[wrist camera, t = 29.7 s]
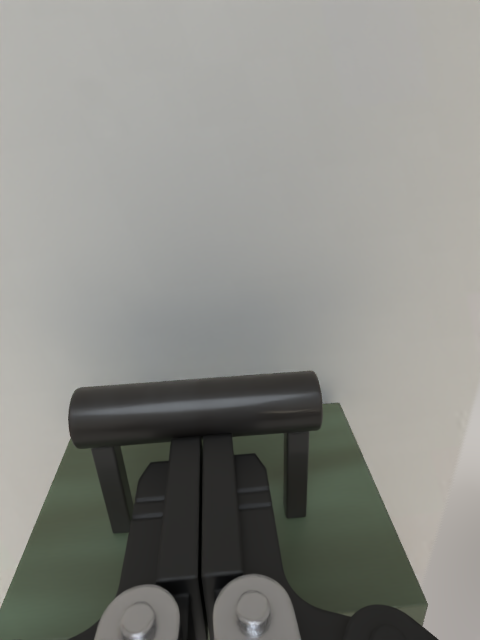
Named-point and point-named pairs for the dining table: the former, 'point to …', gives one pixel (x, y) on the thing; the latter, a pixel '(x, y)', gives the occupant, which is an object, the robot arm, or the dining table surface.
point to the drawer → (248, 437)
